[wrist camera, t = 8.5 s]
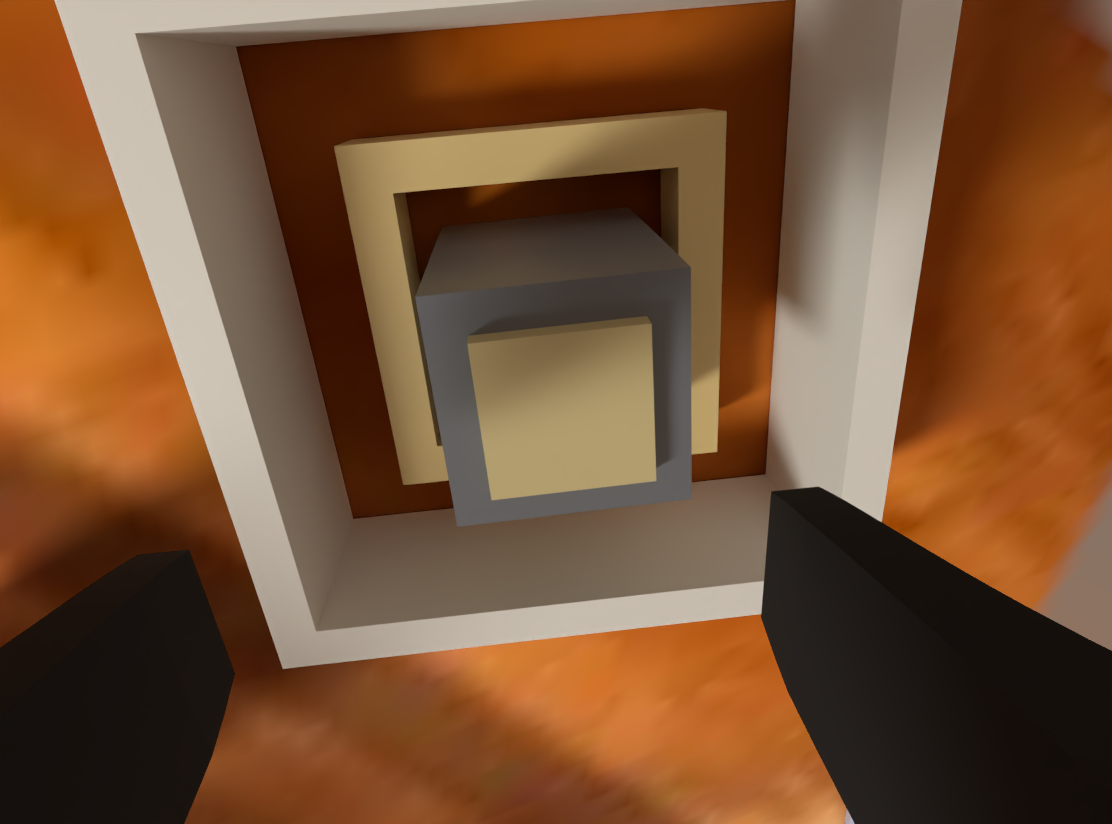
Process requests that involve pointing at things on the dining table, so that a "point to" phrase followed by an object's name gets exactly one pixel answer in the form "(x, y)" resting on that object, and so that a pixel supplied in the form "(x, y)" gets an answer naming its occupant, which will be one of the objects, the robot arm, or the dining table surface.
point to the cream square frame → (390, 288)
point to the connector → (559, 364)
